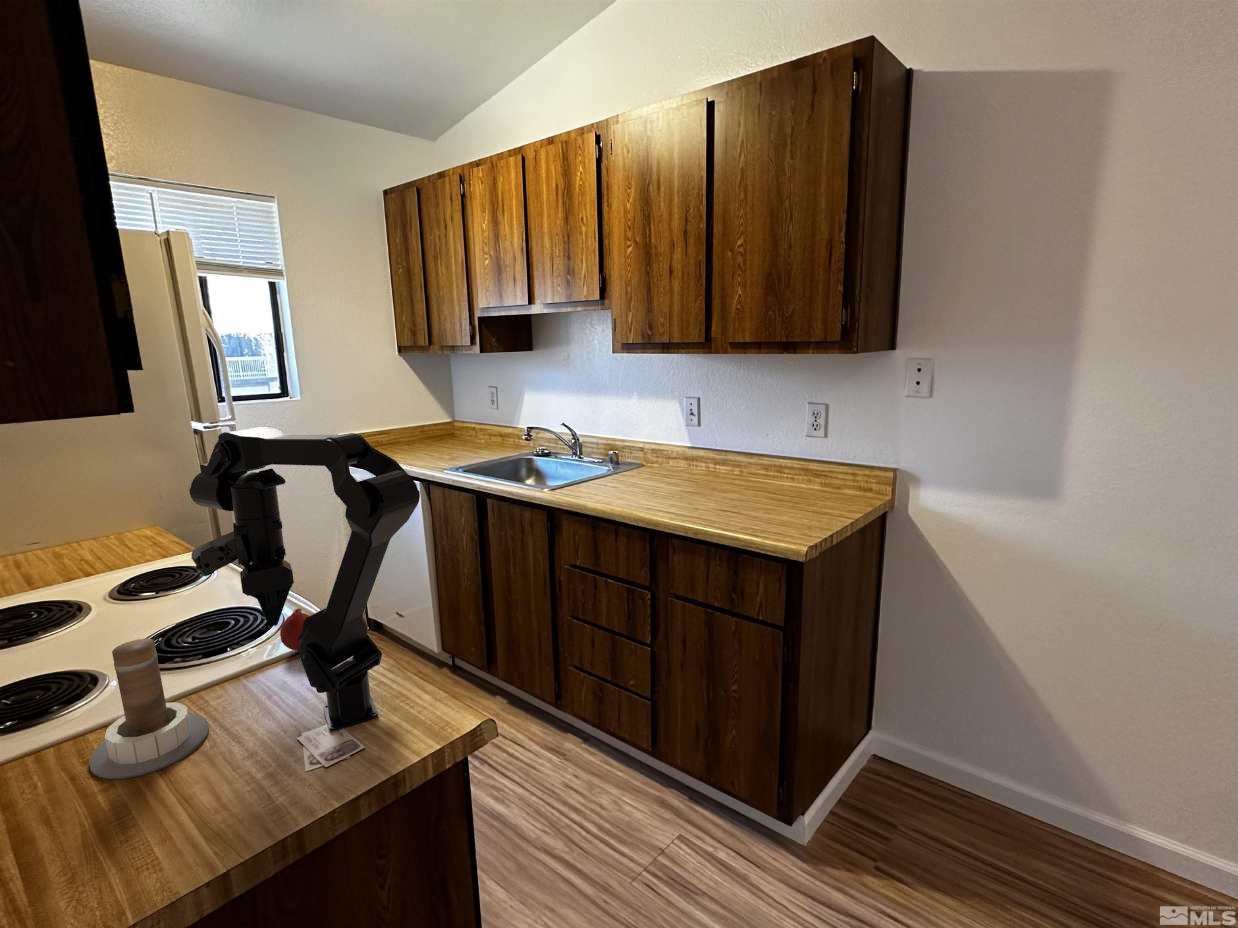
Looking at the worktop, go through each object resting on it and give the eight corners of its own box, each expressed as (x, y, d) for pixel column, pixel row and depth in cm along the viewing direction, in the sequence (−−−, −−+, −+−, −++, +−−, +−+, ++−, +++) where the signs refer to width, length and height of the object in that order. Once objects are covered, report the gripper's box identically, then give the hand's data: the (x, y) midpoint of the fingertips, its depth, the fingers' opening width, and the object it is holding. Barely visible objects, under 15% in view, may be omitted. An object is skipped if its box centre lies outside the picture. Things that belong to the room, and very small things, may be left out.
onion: (304, 661, 106) (299, 617, 104) (275, 658, 107) (269, 614, 105) (327, 644, 112) (322, 602, 110) (298, 641, 113) (293, 600, 111)
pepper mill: (177, 738, 85) (160, 644, 82) (137, 756, 82) (118, 659, 79) (164, 726, 88) (147, 635, 85) (126, 743, 84) (106, 648, 81)
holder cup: (208, 754, 83) (204, 730, 82) (81, 793, 76) (75, 767, 75) (209, 706, 94) (205, 684, 93) (98, 736, 87) (93, 712, 86)
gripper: (192, 507, 95) (208, 603, 98) (188, 542, 79) (206, 655, 83) (276, 496, 101) (287, 588, 104) (287, 527, 85) (300, 633, 88)
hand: (270, 613), depth 95 cm, fingers open, 9 cm apart
